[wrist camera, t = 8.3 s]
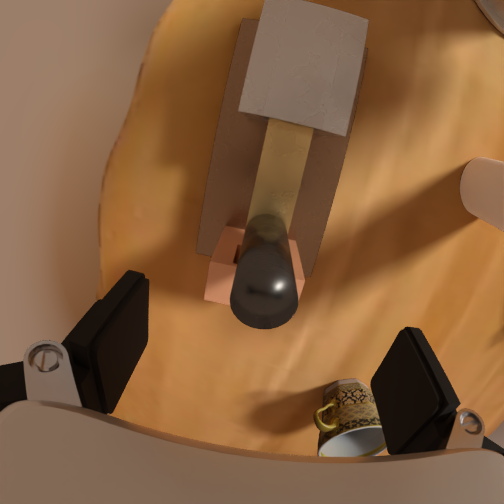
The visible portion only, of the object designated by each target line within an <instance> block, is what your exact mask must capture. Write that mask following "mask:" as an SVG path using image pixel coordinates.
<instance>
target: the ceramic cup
mask: <svg viewBox="0 0 504 504" xmlns="http://www.w3.org/2000/svg"><path fill="white" fill-rule="evenodd" d="M321 411H322V421H321V420H320V419H319V417H318V413H319V412H321ZM313 418H314V422H315V424H316V426H317V428H318V429H319V430H320V433H319V440H318V453H317V454H318V456H324V457H367V456H376V455H378V454H379V453H381V452H383V451H384V450H385V449H386V448H387V446H386V442H385V438H384V434H383V430H382V426H381V423H380V419H379V415H378V411H377V408H376V404H375V400H374V397H373V395H372V393H371V391H370V390H369V388H368V386H367V385H365V384H364V383H362V382H361V381H359V380H358V379H356V378H354V379H346V380H338V381H336V382H335V383H333V384H332V385H331V386H329V387H328V388H326V389H325V392H324V398H323V408H320V409H318V410H316V411H315V412H314V415H313Z"/></svg>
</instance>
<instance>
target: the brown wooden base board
mask: <svg viewBox="0 0 504 504" xmlns="http://www.w3.org/2000/svg"><path fill="white" fill-rule="evenodd" d="M368 23H369V20H368V19H365V18H362V17H360V16H357V15H354V14H351V13H348V12H344V11H341V10H338V9H335V8H331V7H328V6H324V5H320V4H316V3H312V2H308V1H304V0H265V2H264V5H263V9H262V13H261V17H260V20H253V19H246V18H243V19H242V23H241V27H240V30H239V34H238V38H237V42H236V46H235V50H234V54H233V58H232V62H231V67H230V71H229V75H228V80H227V84H226V88H225V93H224V97H223V102H222V107H221V111H220V116H219V121H218V126H217V131H216V136H215V141H214V146H213V151H212V157H211V162H210V167H209V173H208V178H207V184H206V190H205V196H204V202H203V208H202V214H201V220H200V227H199V233H198V240H197V247H196V253H198V254H203V255H207V256H212V255H213V253H214V250H215V248H216V246H217V244H218V241H219V239H220V237H221V235H222V232H223V230H224V228H225V226H229V227H234V228H239V229H243V230H245V228H246V224H247V219H248V214H249V209H250V205H251V200H252V195H253V191H254V186H255V181H256V177H257V172H258V168H259V163H260V158H261V154H262V149H263V145H264V140H265V136H266V131H267V127H268V122H269V118H274V119H278V120H283V121H287V122H291V123H296V124H300V125H304V126H308V127H311V128H314V130H313V134H312V139H311V143H310V147H309V151H308V155H307V160H306V164H305V168H304V172H303V176H302V180H301V184H300V188H299V192H298V196H297V200H296V204H295V208H294V212H293V216H292V220H291V224H290V227H289V231H288V239H290V240H294V241H296V244H297V248H298V252H299V256H300V261H301V265H302V269H303V274H304V276H308V277H310V276H311V273H312V270H313V267H314V264H315V261H316V257H317V254H318V251H319V248H320V244H321V241H322V238H323V234H324V231H325V228H326V224H327V221H328V217H329V214H330V210H331V207H332V203H333V199H334V196H335V192H336V189H337V185H338V181H339V177H340V173H341V170H342V166H343V162H344V158H345V154H346V150H347V146H348V142H349V138H350V133H351V129H352V125H353V120H354V116H355V112H356V107H357V103H358V98H359V93H360V88H361V83H362V79H363V73H364V68H365V63H366V58H367V52H368V48H365V41H366V35H367V29H368Z"/></svg>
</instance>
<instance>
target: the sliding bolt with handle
mask: <svg viewBox="0 0 504 504" xmlns="http://www.w3.org/2000/svg"><path fill="white" fill-rule="evenodd" d="M313 130H314V128H311V127H308V126H304V125H300V124H296V123H291V122H287V121H283V120H278V119H274V118H269V122H268V127H267V131H266V136H265V140H264V145H263V149H262V154H261V158H260V163H259V168H258V172H257V177H256V181H255V186H254V191H253V195H252V200H251V205H250V209H249V214H248V219H247V224H246V228H245V233H244V237H243V241H242V246H241V250H240V254H239V259H238V263H237V267H236V272H235V276H234V281H233V285H232V289H231V294H230V306H231V309H232V311H233V313H234V315H235V316H236V317H237V318H238V319H239V320H240V321H241V322H242V323H244V324H246V325H248V326H250V327H253V328H257V329H272V328H276V327H279V326H281V325H283V324H285V323H286V322H287V321H289V320H290V319H291V318H292V317H293V315H294V314H295V312H296V310H297V307H298V292H297V286H296V280H295V274H294V268H293V263H292V257H291V251H290V246H289V240H288V231H289V227H290V224H291V220H292V216H293V212H294V208H295V204H296V200H297V196H298V192H299V188H300V184H301V180H302V176H303V172H304V168H305V164H306V160H307V155H308V151H309V147H310V143H311V139H312V134H313Z"/></svg>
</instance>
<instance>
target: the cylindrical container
mask: <svg viewBox="0 0 504 504" xmlns="http://www.w3.org/2000/svg"><path fill="white" fill-rule="evenodd" d="M460 196H461V200H462V203H463V205H464V207H465V208H466V210H467V211H468V212H469V213H471V214H472V215H474V216H476V217H478V218H480V219H482V220H484V221H485V222H487V223H489V224H491V225H493V226H494V227H496V228H498V229H500V230H501V231H503V232H504V162H502V161H498V160H494V159H490V158H486V157H476V158H474V159H472V160H471V161H470V162H469V163H468V164H467V166H466V167H465V169H464V171H463V173H462V176H461V181H460Z"/></svg>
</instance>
